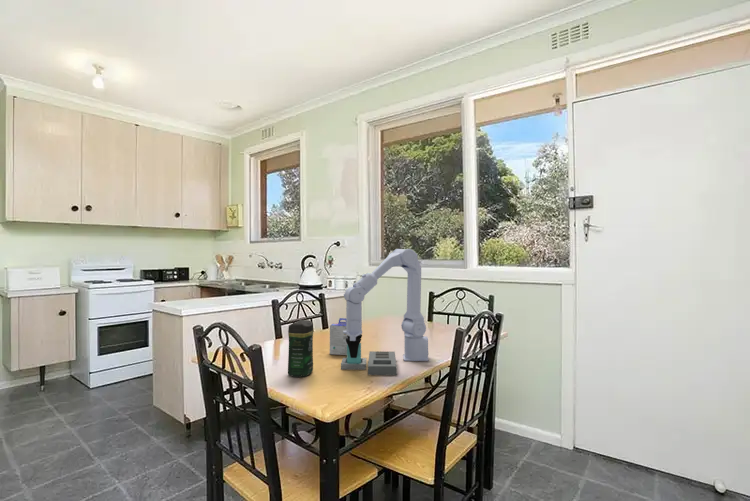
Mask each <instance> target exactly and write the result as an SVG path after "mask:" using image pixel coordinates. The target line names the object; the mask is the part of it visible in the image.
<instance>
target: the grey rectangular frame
mask: <svg viewBox="0 0 750 501" xmlns="http://www.w3.org/2000/svg"><path fill="white" fill-rule="evenodd" d="M366 368H367V358H366V357H361V363H347V357H342V360H341V363H340V370H345V371H346V370H352V371H353V370H357V371H358V370H359V371H361V370H362V371H363V370H364V371H365V370H367V369H366Z"/></svg>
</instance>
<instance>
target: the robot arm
mask: <svg viewBox="0 0 750 501" xmlns="http://www.w3.org/2000/svg"><path fill="white" fill-rule="evenodd" d="M418 255H419V254H418V253H417V252H415V251H414V250H413V249H411V248H406V249H405V248H396V249H394V250H393V251H392V252H390V253H389V254H388V255H387V257H385V259H384V260H383V261H382V262H381V263H380V264H379V265H378V266H377V267H376V268H375V269H374V270H373V271H372V272H371V273H369V272H367V273H363V274H362V275H361V277H360V279H358V280H357V281H356V282H354V283H352V286H350V287H347V288H346V290H345V292H344V294H343V299H344V300H345V301H346V302H345V303H346V308H345V309H346V311H345V315H346V316H345V318H346V321H345V322H346V331H343V333H344V334H347V337H348V338H346V342H347V344H348V347H349V351H350V356H351V358H356V357H357V353H358V347H359V344H360V343H362V337H363V329H362V328H363V326H362V325H363V320H362V318H363V317H362V316H363V314H362V312H363V311H362V307H363V306H362V302H363V301H364V300H365V296H366V295H367V294H368V293H369V292H370V291H371V290H373V288H374V287H376V286H377V285H378V279H379V278H381V277H382V276H383V275H385V274H386V273H387V272H388V271H390V270H391V269H392V268H395V267H401V268H403V270H404V271H405V272H406V273H407V279H406V280H407V284H406V285H407V287H406V312H405V313H404V314H403V319H402V322H401V330H402V331H403V333H404V334H403V335H404V339H403V340H404V341H403V342H404V344H403V345H404V346H403V347H404V354H402V356H403V361H405V362H412V361H413V362H414V361H415V362H416V361H417V362H418V361H419V362H428V361H429V339H428V338H429V337H428V336H427V335H426V334H425V333H426V331H427V327H426V324H425V317H424V315H423V314H422V313H421V307H422V306H421V301H422V300H421V298H422V266H421V264H420V261H419V259H418ZM424 335H425V336H424Z"/></svg>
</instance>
